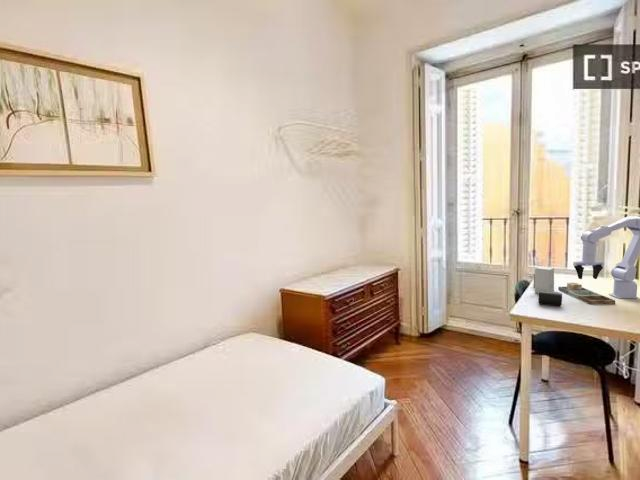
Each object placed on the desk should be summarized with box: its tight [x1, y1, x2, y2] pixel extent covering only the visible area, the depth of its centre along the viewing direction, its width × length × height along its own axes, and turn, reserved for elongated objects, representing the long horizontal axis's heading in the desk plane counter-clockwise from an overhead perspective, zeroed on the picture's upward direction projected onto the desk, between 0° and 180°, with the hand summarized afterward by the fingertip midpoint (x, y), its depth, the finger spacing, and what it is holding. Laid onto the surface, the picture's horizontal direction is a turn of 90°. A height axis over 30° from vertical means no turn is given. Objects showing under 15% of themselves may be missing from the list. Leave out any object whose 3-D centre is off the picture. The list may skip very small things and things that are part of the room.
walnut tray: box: [578, 295, 616, 305], centre depth 191 cm, size 12×9×2 cm
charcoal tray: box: [558, 286, 591, 295], centre depth 211 cm, size 12×9×2 cm
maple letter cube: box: [566, 282, 583, 290], centre depth 211 cm, size 5×5×5 cm
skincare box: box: [534, 266, 555, 294], centre depth 209 cm, size 8×6×15 cm
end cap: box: [538, 291, 563, 307], centre depth 188 cm, size 10×7×7 cm
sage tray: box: [567, 290, 603, 300], centre depth 201 cm, size 12×9×2 cm
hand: (587, 278), depth 199 cm, fingers open, 7 cm apart
